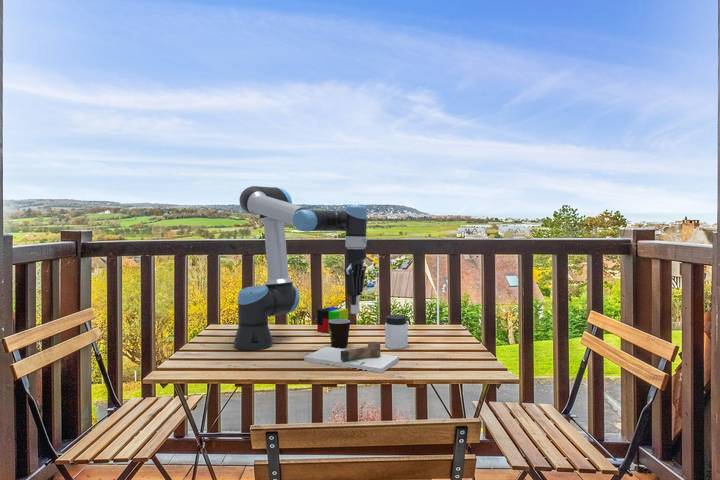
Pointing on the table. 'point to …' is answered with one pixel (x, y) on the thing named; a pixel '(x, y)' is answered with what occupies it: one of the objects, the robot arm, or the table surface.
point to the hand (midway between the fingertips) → (354, 313)
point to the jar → (396, 332)
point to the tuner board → (367, 363)
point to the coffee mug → (339, 332)
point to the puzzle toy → (329, 317)
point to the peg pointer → (362, 352)
